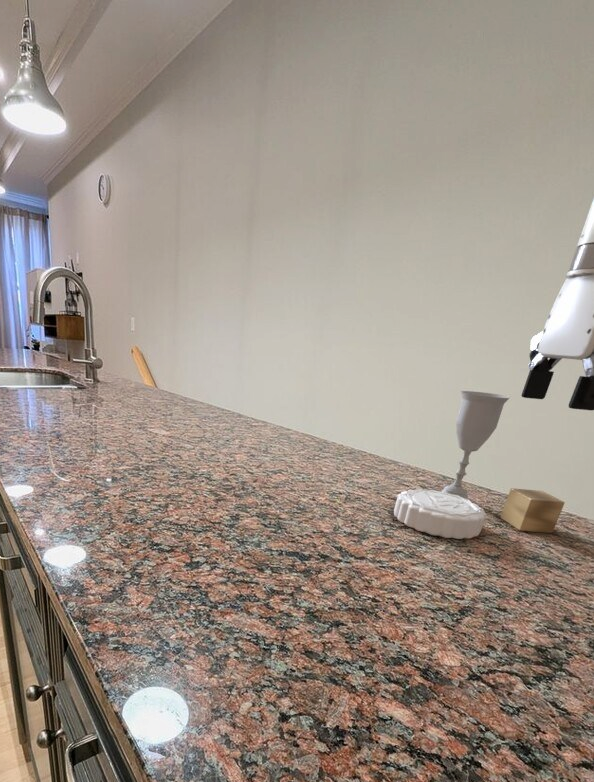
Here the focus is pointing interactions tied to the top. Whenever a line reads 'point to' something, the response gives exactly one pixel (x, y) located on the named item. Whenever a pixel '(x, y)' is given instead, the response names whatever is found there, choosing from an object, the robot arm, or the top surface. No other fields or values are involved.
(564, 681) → the top surface
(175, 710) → the top surface
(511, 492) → the block
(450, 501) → the mooncake
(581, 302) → the robot arm
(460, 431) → the chalice
